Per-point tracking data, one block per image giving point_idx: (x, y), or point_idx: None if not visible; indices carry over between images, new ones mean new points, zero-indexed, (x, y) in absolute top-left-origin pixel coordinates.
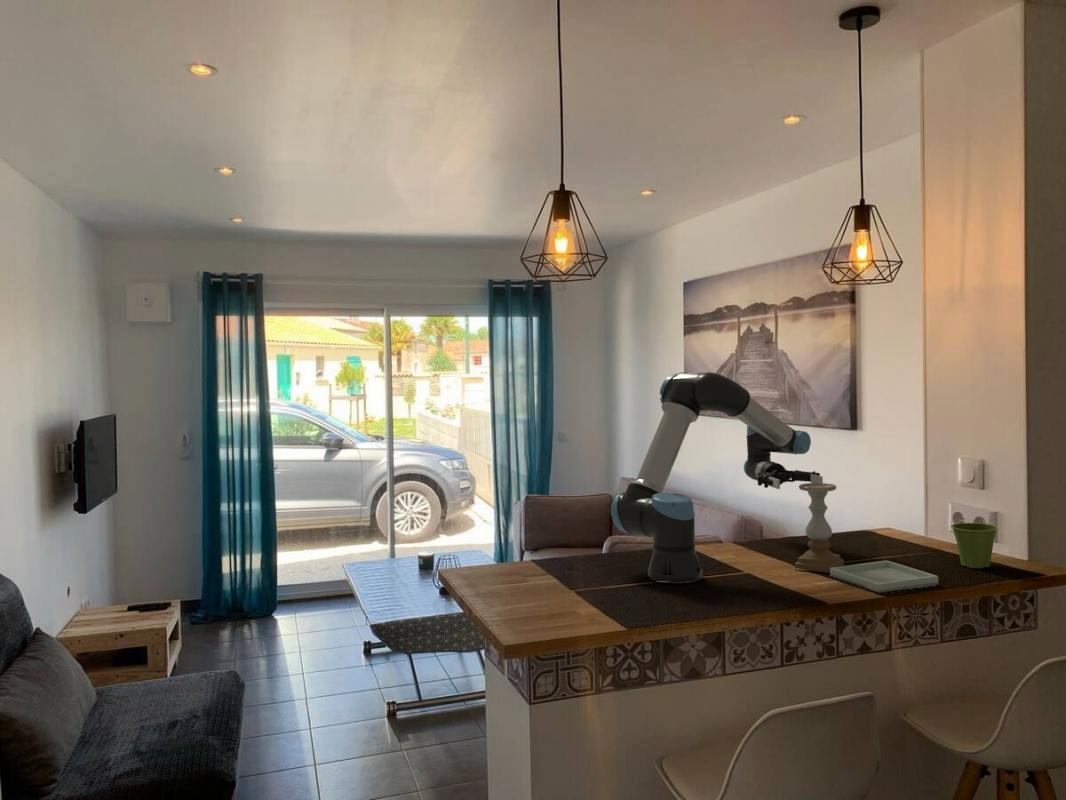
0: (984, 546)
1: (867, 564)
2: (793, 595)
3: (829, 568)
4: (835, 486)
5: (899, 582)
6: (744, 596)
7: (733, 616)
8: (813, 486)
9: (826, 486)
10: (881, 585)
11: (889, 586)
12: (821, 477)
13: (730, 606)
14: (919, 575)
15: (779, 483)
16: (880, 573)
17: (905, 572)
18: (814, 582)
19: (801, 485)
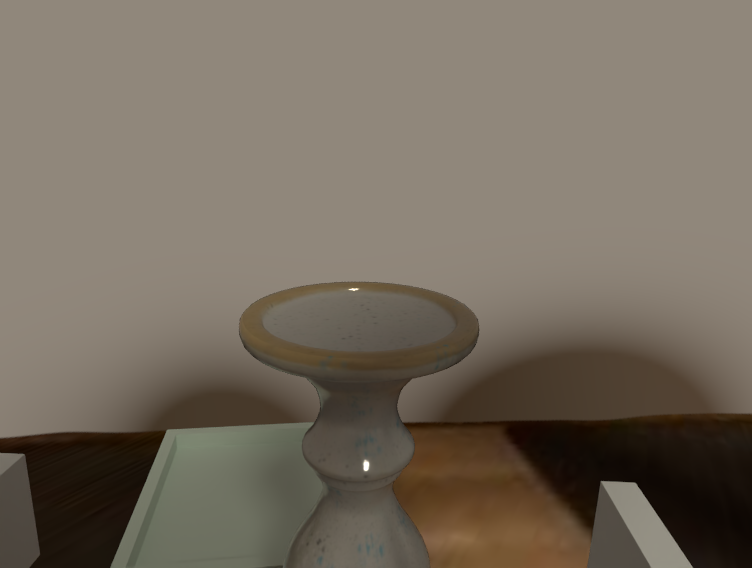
0: None
1: (223, 561)
2: (572, 476)
3: None
4: (283, 290)
5: (293, 425)
6: (717, 498)
7: (722, 417)
8: (370, 333)
9: (297, 319)
10: None
11: None
12: (8, 461)
13: (743, 455)
14: (166, 471)
15: (598, 524)
16: (231, 527)
17: (153, 513)
18: (474, 548)
19: (456, 330)
